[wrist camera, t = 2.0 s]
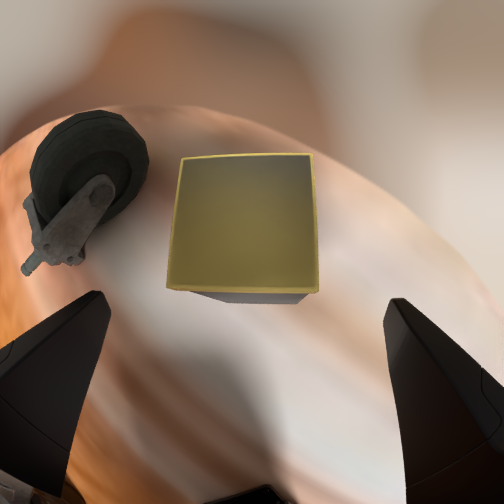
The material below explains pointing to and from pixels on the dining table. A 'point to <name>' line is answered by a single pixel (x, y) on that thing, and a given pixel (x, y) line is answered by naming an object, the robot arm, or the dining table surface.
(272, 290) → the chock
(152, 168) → the dining table surface
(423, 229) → the dining table surface
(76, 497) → the supplement bottle
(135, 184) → the caster wheel
